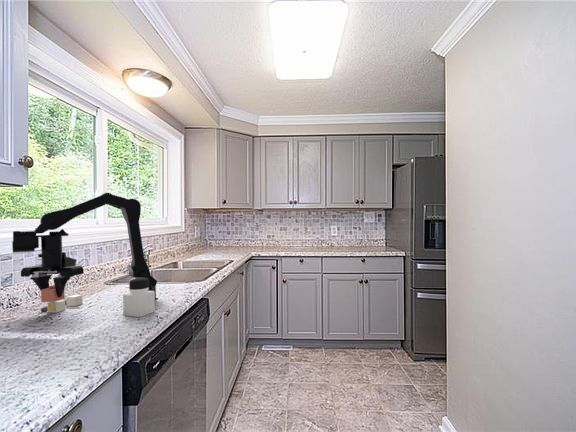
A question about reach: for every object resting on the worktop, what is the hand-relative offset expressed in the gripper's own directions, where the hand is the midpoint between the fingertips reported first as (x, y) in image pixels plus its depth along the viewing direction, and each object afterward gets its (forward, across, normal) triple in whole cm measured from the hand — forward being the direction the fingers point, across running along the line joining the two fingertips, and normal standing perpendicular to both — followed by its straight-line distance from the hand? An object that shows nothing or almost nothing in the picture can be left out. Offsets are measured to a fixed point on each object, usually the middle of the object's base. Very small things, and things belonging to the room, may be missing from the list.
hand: (53, 297), depth 114 cm
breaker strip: (+6, 0, -6) cm, 9 cm away
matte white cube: (+5, 0, -2) cm, 5 cm away
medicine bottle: (+7, -27, -5) cm, 29 cm away
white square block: (+5, 0, -10) cm, 11 cm away
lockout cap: (+1, 0, 0) cm, 1 cm away
